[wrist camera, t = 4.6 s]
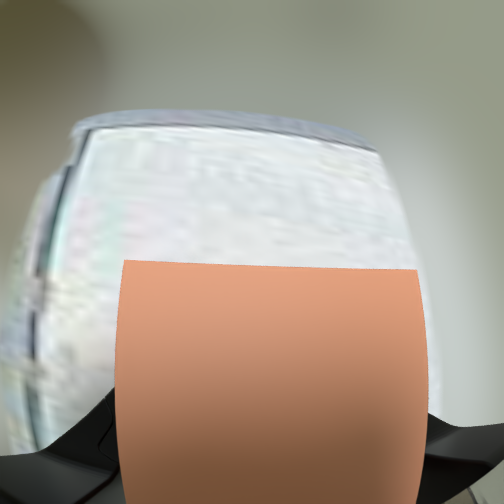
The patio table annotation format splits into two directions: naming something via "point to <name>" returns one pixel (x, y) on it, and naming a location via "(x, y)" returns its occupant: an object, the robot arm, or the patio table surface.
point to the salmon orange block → (270, 384)
